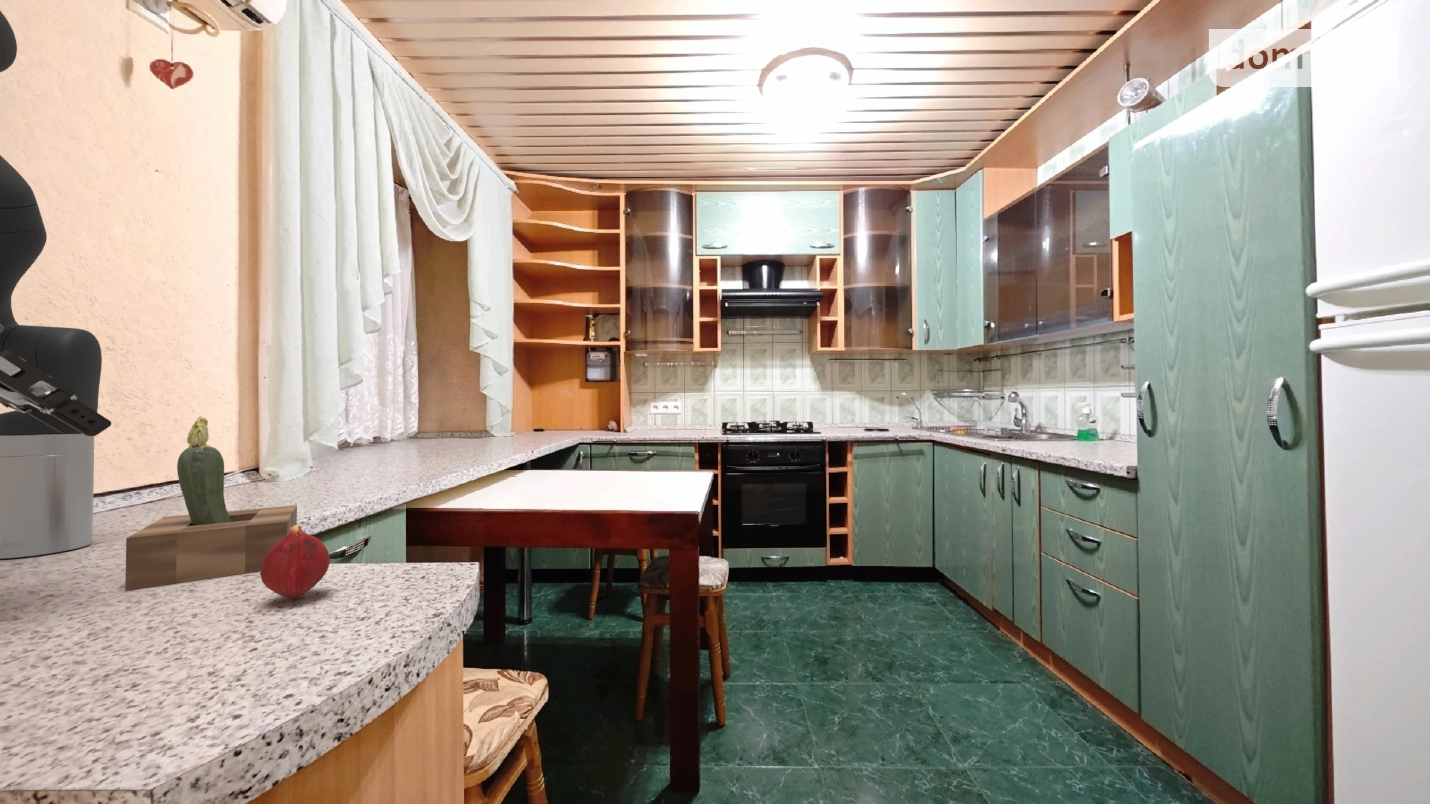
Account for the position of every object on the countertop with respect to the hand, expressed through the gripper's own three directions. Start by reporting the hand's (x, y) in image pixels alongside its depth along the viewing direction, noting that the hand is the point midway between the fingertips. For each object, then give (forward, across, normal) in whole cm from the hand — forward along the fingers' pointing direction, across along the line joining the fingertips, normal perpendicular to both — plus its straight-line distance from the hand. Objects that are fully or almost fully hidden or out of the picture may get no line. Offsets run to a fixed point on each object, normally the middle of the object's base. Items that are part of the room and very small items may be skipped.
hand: (89, 429), depth 56 cm
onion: (+20, -24, +7) cm, 32 cm away
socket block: (+21, 0, +5) cm, 22 cm away
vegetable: (+21, 0, +5) cm, 22 cm away
